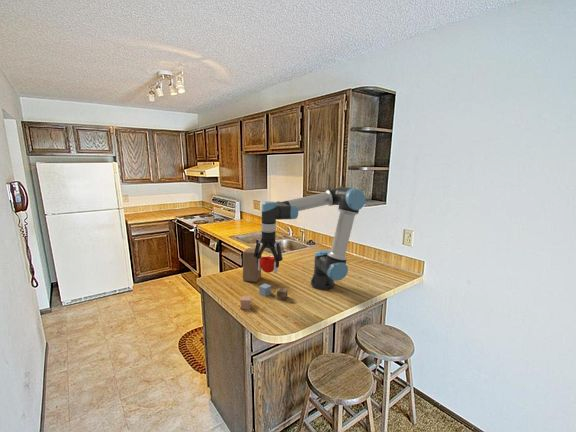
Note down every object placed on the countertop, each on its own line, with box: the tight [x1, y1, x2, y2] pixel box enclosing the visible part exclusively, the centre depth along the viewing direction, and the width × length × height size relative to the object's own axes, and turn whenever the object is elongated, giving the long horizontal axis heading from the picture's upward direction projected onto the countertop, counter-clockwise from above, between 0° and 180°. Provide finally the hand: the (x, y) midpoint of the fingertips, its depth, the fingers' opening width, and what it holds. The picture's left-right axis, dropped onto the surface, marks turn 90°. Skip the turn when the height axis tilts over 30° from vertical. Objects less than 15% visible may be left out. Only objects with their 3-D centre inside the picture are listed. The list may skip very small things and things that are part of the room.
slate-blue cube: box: [258, 283, 272, 297], centre depth 162 cm, size 5×5×5 cm
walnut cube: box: [276, 287, 288, 301], centre depth 158 cm, size 5×5×5 cm
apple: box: [259, 256, 275, 273], centre depth 148 cm, size 9×9×8 cm
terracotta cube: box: [240, 295, 252, 310], centre depth 147 cm, size 5×5×5 cm
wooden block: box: [242, 247, 262, 283], centre depth 181 cm, size 10×10×20 cm
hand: (267, 271), depth 149 cm, fingers closed on apple, 9 cm apart
